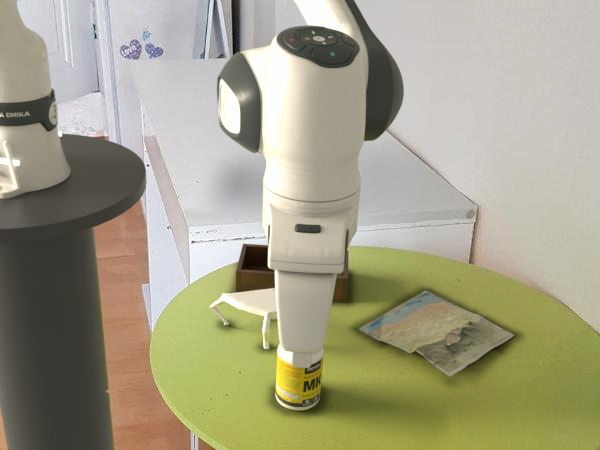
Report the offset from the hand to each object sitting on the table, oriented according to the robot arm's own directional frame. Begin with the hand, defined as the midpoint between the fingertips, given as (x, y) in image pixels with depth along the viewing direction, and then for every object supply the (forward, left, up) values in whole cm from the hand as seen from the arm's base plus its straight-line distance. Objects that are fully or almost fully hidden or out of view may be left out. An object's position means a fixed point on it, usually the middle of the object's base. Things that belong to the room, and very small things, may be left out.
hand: (304, 334), depth 76 cm
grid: (-2, +23, -8) cm, 24 cm away
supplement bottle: (0, 0, -8) cm, 8 cm away
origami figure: (-6, +11, -8) cm, 15 cm away
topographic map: (+16, +14, -8) cm, 22 cm away
